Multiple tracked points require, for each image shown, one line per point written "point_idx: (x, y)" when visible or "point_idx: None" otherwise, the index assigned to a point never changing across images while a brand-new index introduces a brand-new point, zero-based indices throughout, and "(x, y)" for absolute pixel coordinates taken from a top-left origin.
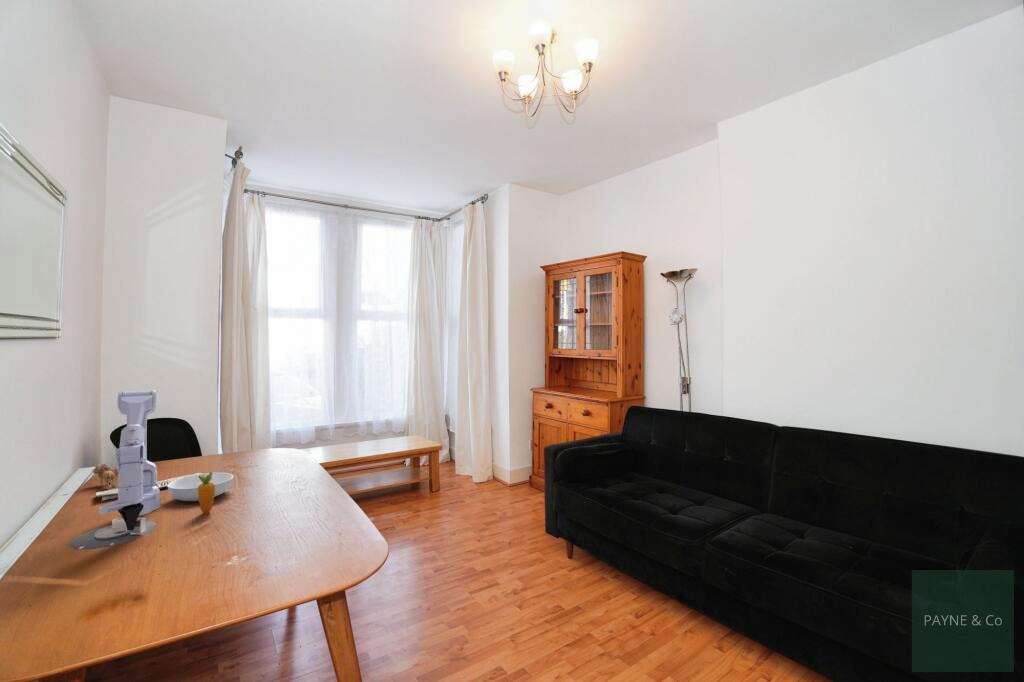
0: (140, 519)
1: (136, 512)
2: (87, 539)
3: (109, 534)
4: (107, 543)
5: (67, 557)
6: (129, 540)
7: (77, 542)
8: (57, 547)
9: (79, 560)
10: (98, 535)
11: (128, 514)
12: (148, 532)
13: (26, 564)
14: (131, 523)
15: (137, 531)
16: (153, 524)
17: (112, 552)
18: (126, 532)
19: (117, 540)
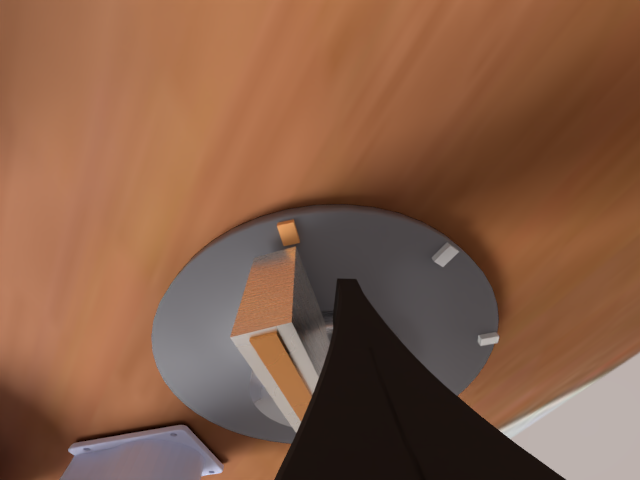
0: (281, 336)
1: (376, 430)
2: None
3: None
4: (428, 292)
5: (528, 318)
6: (372, 223)
7: None
8: None
9: (571, 243)
10: None
11: (502, 436)
12: (243, 240)
13: (572, 370)
14: (376, 317)
15: (303, 271)
16: (166, 328)
17: (482, 182)
18: (324, 323)
19: (386, 287)
